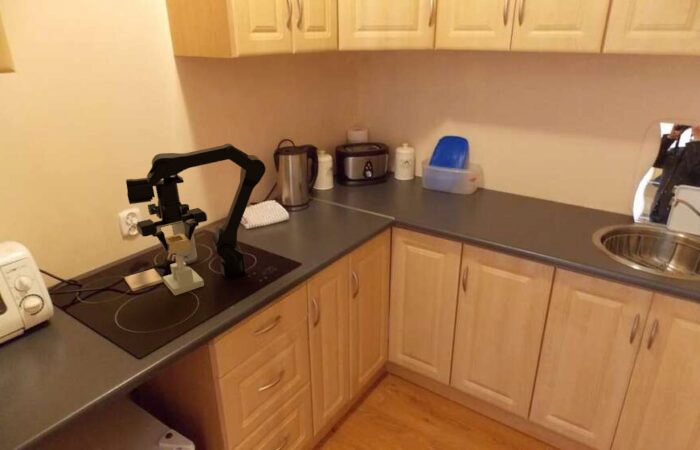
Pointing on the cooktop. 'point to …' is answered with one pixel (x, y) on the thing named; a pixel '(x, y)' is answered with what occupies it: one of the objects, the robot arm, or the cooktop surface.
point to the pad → (143, 279)
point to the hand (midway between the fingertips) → (177, 248)
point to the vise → (182, 277)
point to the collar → (177, 243)
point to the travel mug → (178, 228)
